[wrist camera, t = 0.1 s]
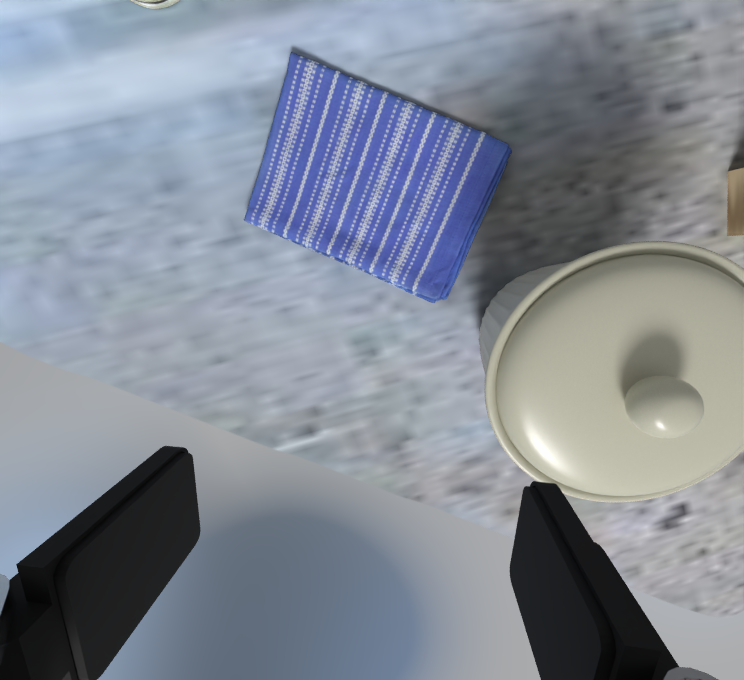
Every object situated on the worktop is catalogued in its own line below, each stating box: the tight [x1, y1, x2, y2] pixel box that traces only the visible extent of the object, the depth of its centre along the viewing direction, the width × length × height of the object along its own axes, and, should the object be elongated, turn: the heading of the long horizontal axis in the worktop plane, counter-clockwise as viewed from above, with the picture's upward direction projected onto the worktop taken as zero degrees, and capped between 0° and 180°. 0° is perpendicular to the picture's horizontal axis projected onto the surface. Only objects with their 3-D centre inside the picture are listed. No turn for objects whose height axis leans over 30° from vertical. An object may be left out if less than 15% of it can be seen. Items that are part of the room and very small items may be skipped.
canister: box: [479, 241, 744, 502], centre depth 29 cm, size 18×18×21 cm
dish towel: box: [244, 52, 512, 303], centre depth 36 cm, size 17×24×3 cm
